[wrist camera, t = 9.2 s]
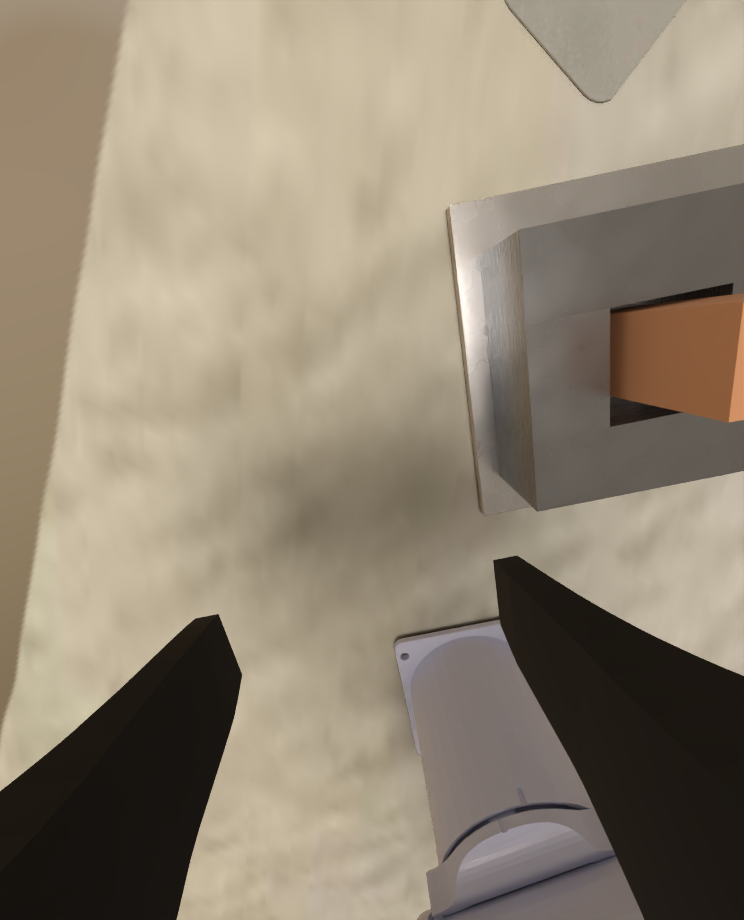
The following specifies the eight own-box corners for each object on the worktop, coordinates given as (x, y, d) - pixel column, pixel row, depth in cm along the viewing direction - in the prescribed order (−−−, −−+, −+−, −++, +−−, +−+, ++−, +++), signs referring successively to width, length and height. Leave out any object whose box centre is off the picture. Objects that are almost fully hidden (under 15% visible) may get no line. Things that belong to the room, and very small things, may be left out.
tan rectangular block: (630, 374, 18) (841, 401, 10) (566, 386, 18) (728, 422, 10) (632, 305, 17) (867, 278, 9) (565, 318, 17) (744, 301, 9)
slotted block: (705, 466, 20) (805, 502, 16) (480, 511, 20) (516, 559, 16) (733, 150, 16) (881, 77, 11) (445, 210, 16) (481, 161, 11)
